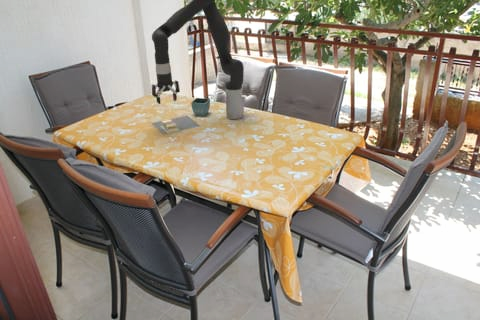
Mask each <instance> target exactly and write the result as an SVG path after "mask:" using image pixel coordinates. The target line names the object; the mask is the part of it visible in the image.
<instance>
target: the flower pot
mask: <svg viewBox="0 0 480 320" xmlns="http://www.w3.org/2000/svg"><path fill="white" fill-rule="evenodd" d="M190 104H191V109H192V112H193V114H194V115H195V116H200V117H205V116H206V115H207V114H208V112H209V110H210V108H211V99H210V98H206V97H205V98H204V97H203V98H202V97H201V98H200V97H196V98H194V100H192V101H191V102H190Z"/></svg>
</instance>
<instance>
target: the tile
mask: <svg viewBox="0 0 480 320" xmlns="http://www.w3.org/2000/svg"><path fill="white" fill-rule="evenodd" d="M169 119H170V120H168V119H164V120H165V121H163V120H161V121H162V126H163V127H164V128H165V129H166V130H167V131H168V132H172V133H174V132H173V131H176V132H178V131H177V130H178V128H177V124H175V123H174V122H173V121H172V120H171V119H172V118H169Z"/></svg>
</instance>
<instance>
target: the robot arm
mask: <svg viewBox="0 0 480 320" xmlns="http://www.w3.org/2000/svg"><path fill="white" fill-rule="evenodd" d="M201 11H203V14H204V17H205V22H206V25H207V27H208V30H209V32H210V35H211V38H212V41H213V44H214V46H215V49H216V51H217V55H218V58H219V63H220V67H221V70H222V71H223V73H224V74H225V75H227V76H229V81H227V82H225V108H226V109H225V110H226V113H225V114H226V118H227V119H229V120H239V119H242V118H243V117H245V115H244V114H245V107H244V106H245V105H244V103H245V102H244V100H243V84H244V73H245V72H244V69H245V68H244V64H243V62H242V61H241V60H239V59H235V58H233V57H232V54H231V51H230V47H229V46H230V39H231V35H230V31H229V29H228V25H227V22H226V20H225V19H224V17H223V15H222V14H221V11H220V10H219V8H218V7H217V3H216V0H191V1H190V2H188V4H186V5H184V6H183V7H182V8H179V9H178V10H177V11H176V12H174V13H173V14H172V15H171V16H170V17H169V18H168V19H166V21H165V22H164V23H162V25H160V26H158V27H157V28H156V29H155V30H154V31H153V32H152V34H151V40H152V42H153V45H154V47H153V48H154V51H155V52H154V60H155V73H156V82H157V83H156V84H151V95H152V96H153V97H154V98H156V103H157V104H159V105H161V103H162V102H161V97H160V96H161V94H163V92H164V93H165V92H169V91H171V93H172V100H173V102H176V101H177V99H178V96H177V94H179V93H180V92H181V91H180V84H179V81H178V80H176V79H175V80H174V81H173V76H172V67H171V64H170V63H171V61H170V55H169V38H170V37H171V36H172V35H174V34H177V32H179V31H180V30H181V29H182V28H183V27H184V26H185V25H186V24H187V23H188V22H190V20H192V19H193V18H194V17H195V16H196V15H197V14H199V13H200V12H201ZM173 85H174V87H175V88H173ZM157 88H158V89H157ZM156 90H157V91H156Z"/></svg>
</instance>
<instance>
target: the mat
mask: <svg viewBox="0 0 480 320" xmlns="http://www.w3.org/2000/svg"><path fill="white" fill-rule="evenodd" d="M170 119H171V120H172V121H173V122H174V123H175V124H177V128H178V130H177V131H173V132H168V131H167V130H166V129H165V128H164V127H163V126H162V121H165V120H166V119H164V120H159V121H154V122H151V123H150V124H151V125H152V126H153V127H154V128H156V129H157V131H159V132H160V133H161V134H162V135H167V134H171V133H176V132H180V131H184V130H185V131H186V130H188V129H194V128H198V127H201V124H199V123H198V122H196V120H194V119H193V118H191V117H190V116H189V115H184V116H178V117H173V118H169V119H167V120H170Z"/></svg>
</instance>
